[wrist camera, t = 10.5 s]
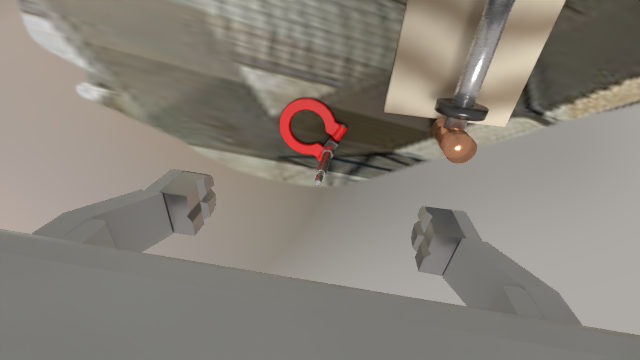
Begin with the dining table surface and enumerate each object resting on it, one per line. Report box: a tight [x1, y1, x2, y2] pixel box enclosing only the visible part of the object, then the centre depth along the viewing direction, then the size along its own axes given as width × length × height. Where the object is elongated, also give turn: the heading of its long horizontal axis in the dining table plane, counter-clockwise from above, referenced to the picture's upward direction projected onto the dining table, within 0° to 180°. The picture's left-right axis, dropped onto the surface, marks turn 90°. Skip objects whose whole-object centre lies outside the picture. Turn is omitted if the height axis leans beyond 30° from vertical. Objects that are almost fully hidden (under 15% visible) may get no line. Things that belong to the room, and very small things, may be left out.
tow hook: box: [279, 98, 348, 186], centre depth 34 cm, size 8×13×9 cm
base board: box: [384, 0, 566, 127], centre depth 30 cm, size 24×16×1 cm, turn 175°
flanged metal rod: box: [431, 0, 516, 163], centre depth 28 cm, size 19×6×7 cm, turn 175°
